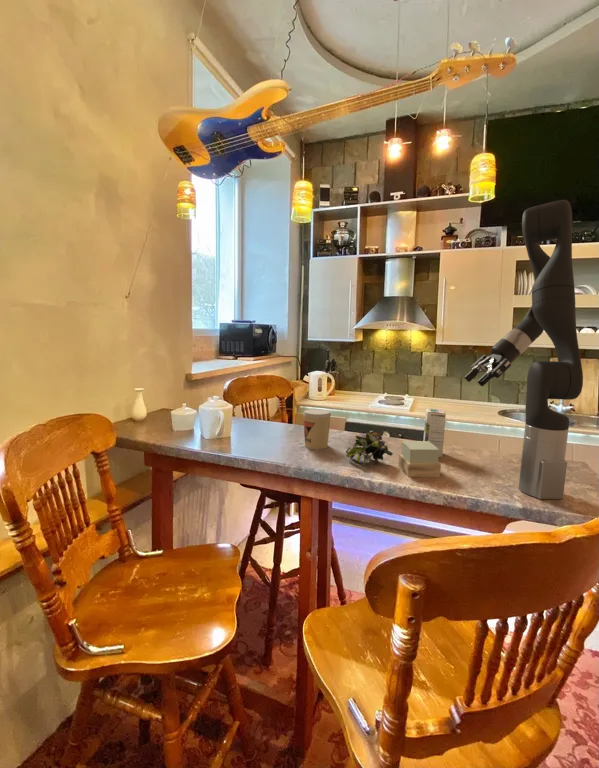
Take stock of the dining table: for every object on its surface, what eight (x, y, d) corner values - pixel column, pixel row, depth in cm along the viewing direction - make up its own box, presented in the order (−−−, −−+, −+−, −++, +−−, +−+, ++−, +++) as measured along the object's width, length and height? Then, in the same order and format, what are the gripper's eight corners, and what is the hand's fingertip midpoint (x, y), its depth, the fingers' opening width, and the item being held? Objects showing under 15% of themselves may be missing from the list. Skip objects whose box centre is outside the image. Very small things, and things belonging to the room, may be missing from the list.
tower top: (438, 463, 112) (439, 449, 112) (409, 463, 112) (410, 449, 111) (427, 454, 120) (428, 441, 120) (401, 454, 120) (401, 441, 119)
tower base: (439, 478, 112) (440, 464, 112) (407, 478, 112) (408, 464, 111) (427, 466, 121) (428, 453, 121) (398, 466, 121) (398, 453, 120)
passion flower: (374, 477, 126) (399, 449, 123) (362, 482, 116) (389, 452, 113) (348, 451, 130) (372, 423, 127) (335, 454, 121) (360, 424, 118)
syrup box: (422, 450, 135) (424, 408, 133) (440, 452, 134) (443, 409, 132) (423, 456, 130) (426, 411, 127) (443, 457, 128) (446, 413, 126)
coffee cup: (299, 443, 141) (299, 409, 140) (324, 441, 144) (324, 408, 142) (307, 451, 133) (308, 415, 131) (334, 448, 135) (335, 413, 134)
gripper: (491, 336, 134) (455, 370, 135) (517, 339, 120) (476, 377, 121) (505, 352, 136) (469, 386, 137) (532, 357, 121) (491, 394, 123)
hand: (472, 382), depth 129 cm, fingers open, 8 cm apart
